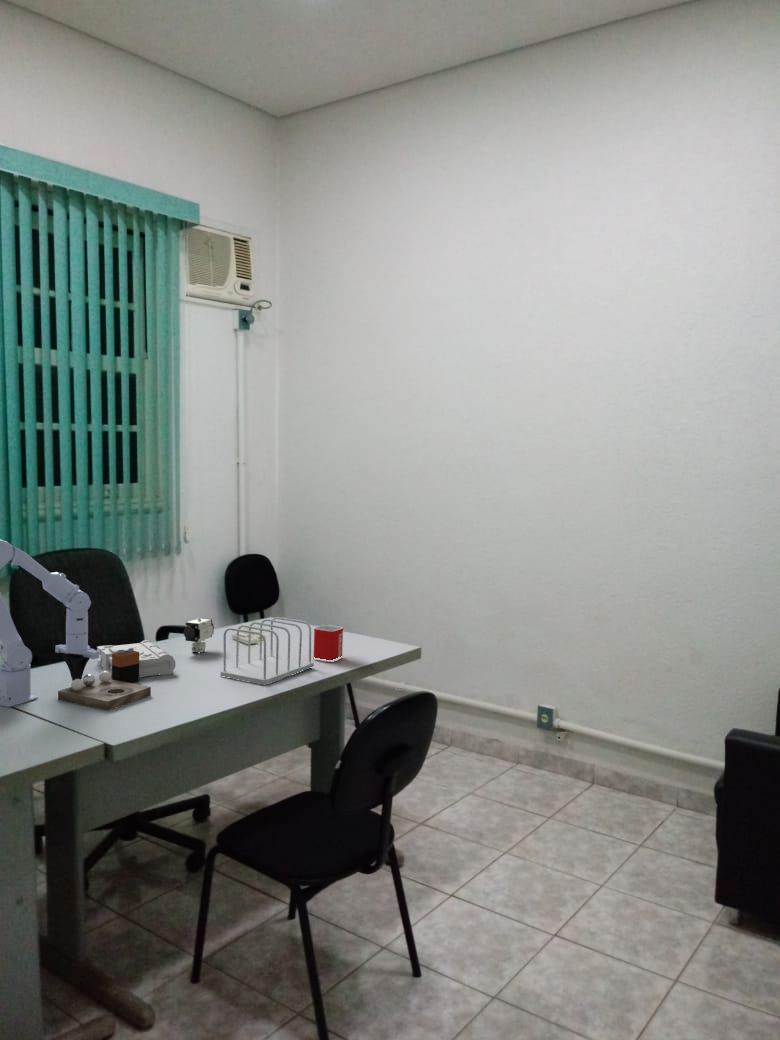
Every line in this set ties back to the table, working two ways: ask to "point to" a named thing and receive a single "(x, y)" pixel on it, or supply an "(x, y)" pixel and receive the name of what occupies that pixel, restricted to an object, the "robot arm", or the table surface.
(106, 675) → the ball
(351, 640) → the table surface
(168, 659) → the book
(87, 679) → the steel ball
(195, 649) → the pneumatic valve
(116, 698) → the hole plate
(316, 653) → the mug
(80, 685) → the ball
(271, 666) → the file sorter
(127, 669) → the battery
